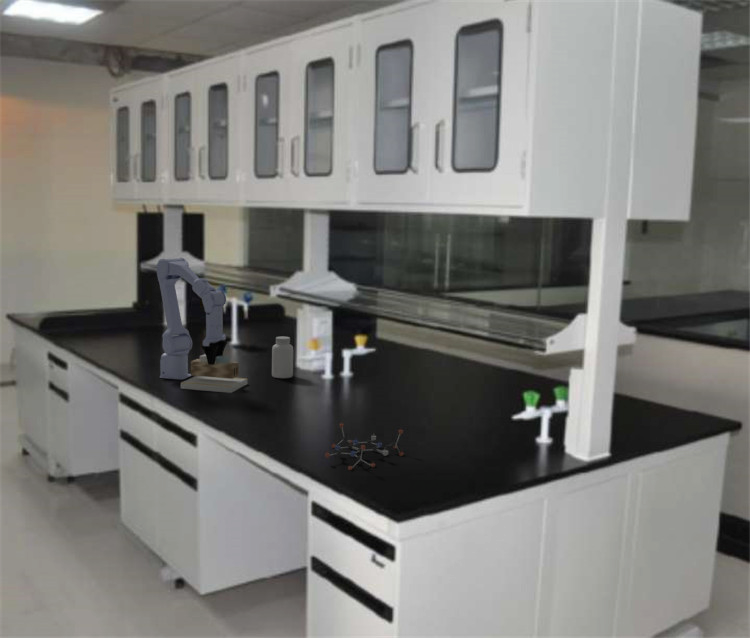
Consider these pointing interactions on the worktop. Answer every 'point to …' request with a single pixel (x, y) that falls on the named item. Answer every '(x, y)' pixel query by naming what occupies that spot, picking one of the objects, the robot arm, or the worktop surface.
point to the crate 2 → (223, 359)
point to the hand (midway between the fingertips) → (214, 362)
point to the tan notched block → (215, 369)
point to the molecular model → (363, 447)
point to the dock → (214, 384)
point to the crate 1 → (203, 358)
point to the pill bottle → (282, 358)
